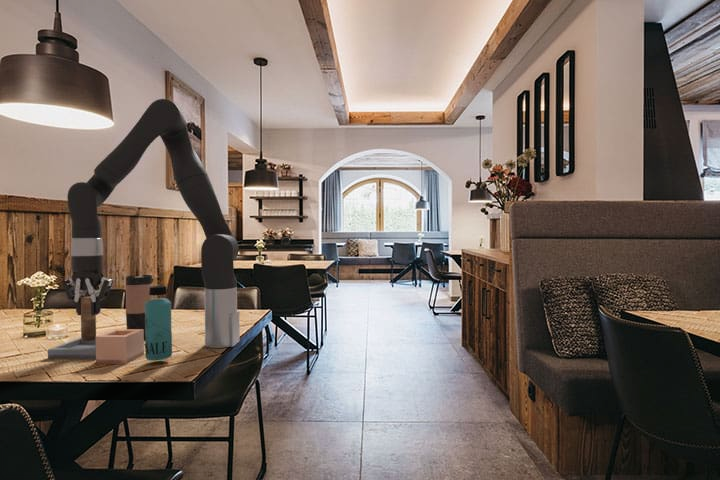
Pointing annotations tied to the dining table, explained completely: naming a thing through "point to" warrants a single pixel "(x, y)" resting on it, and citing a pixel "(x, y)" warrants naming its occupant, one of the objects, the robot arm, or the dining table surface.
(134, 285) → the travel mug
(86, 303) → the walnut dowel
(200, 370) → the dining table surface
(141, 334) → the pin cup
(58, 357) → the slate tray
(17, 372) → the dining table surface
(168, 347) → the beverage bottle
